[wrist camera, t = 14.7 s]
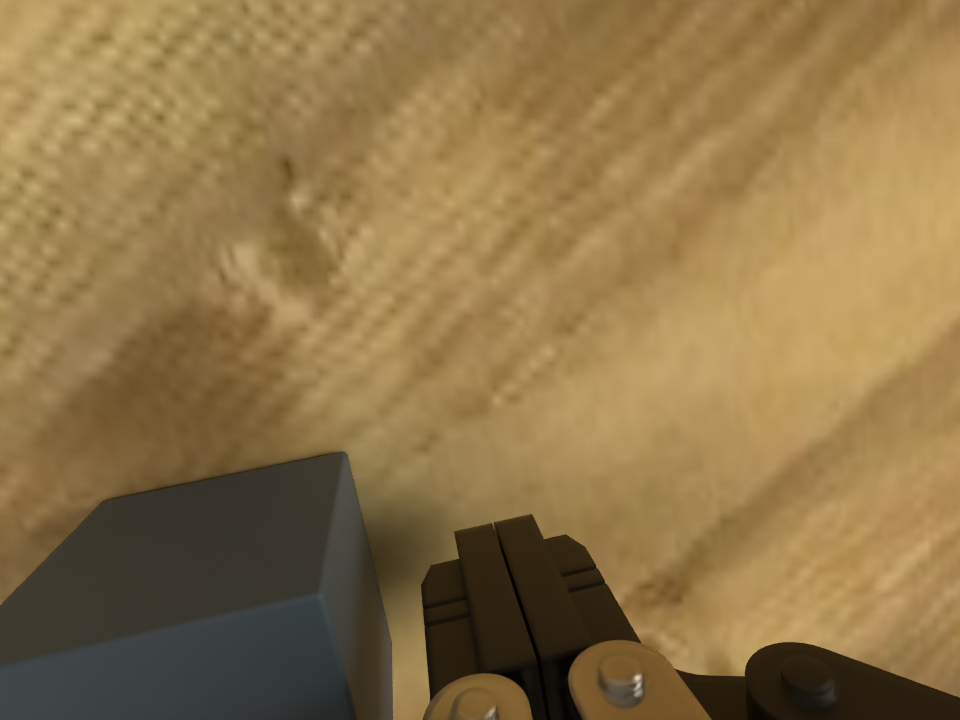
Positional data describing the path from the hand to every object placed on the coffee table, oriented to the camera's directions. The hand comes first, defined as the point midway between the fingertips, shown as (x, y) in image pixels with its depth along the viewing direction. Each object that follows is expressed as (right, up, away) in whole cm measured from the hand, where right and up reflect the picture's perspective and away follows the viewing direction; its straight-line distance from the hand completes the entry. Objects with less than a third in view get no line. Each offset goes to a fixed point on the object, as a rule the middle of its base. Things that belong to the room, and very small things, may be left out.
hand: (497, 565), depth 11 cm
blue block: (-5, 0, +1) cm, 5 cm away
